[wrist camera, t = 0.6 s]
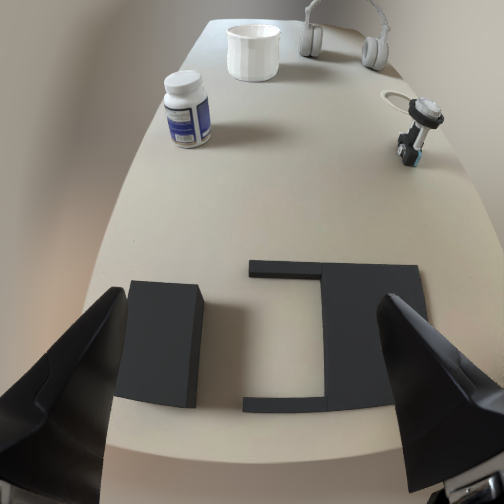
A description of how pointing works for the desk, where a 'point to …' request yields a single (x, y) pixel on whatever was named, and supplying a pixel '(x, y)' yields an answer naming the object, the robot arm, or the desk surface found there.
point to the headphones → (372, 48)
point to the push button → (418, 129)
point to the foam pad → (161, 344)
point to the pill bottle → (187, 109)
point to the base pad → (345, 331)
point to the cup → (253, 52)
